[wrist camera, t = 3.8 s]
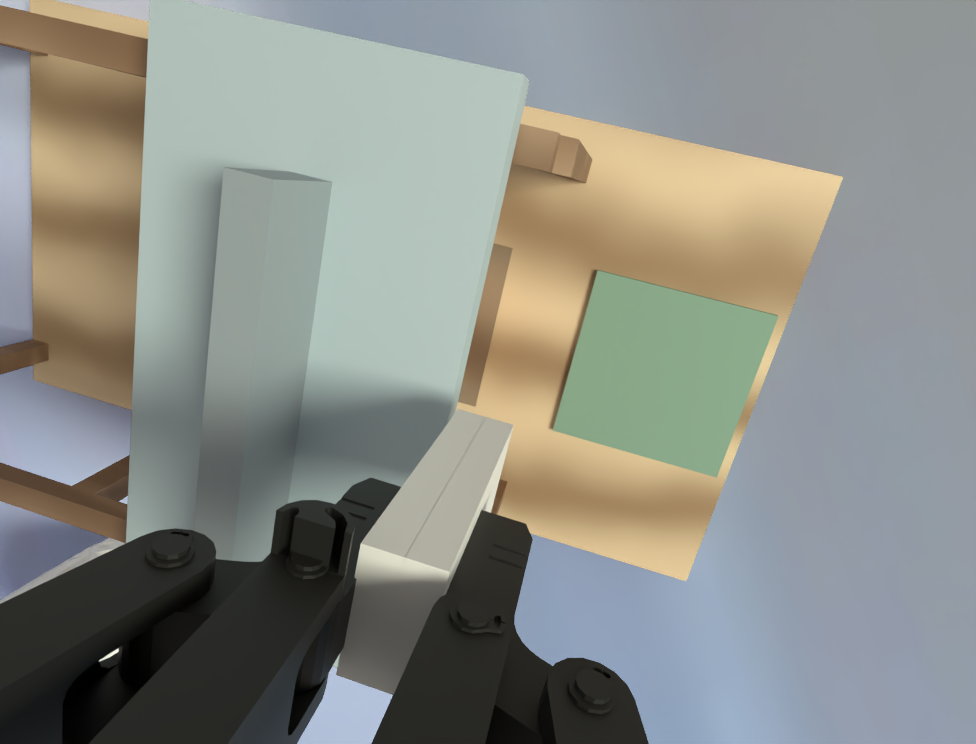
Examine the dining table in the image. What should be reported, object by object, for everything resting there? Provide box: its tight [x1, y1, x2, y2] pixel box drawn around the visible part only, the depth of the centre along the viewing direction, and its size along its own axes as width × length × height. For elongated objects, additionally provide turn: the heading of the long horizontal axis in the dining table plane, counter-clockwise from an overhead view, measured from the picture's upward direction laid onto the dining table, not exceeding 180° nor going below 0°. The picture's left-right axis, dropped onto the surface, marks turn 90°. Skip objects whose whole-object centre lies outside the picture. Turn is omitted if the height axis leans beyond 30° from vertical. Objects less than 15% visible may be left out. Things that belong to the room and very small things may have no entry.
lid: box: [126, 0, 529, 668], centre depth 17 cm, size 19×10×4 cm, turn 167°
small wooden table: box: [0, 0, 843, 581], centre depth 26 cm, size 20×38×13 cm, turn 77°
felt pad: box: [553, 270, 779, 478], centre depth 29 cm, size 8×8×1 cm
